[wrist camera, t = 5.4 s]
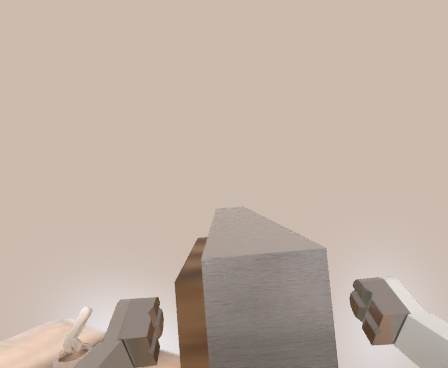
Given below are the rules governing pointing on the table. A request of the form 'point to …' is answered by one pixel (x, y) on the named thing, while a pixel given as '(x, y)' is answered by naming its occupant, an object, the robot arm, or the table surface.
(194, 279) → the stand
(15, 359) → the table surface
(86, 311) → the hook
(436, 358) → the robot arm
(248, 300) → the rail
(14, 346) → the table surface
